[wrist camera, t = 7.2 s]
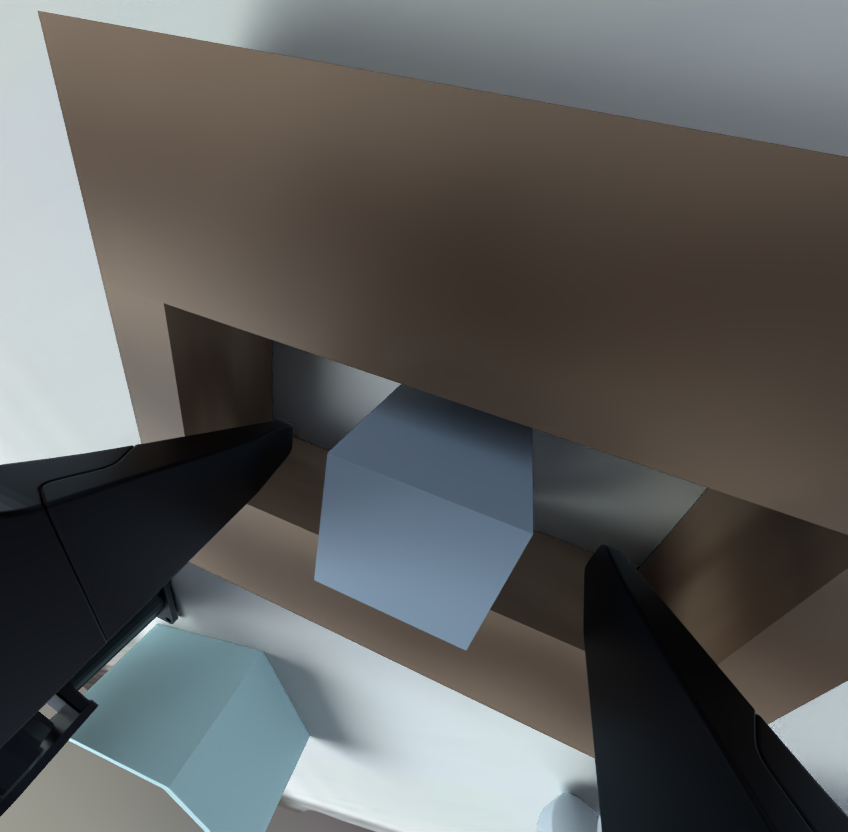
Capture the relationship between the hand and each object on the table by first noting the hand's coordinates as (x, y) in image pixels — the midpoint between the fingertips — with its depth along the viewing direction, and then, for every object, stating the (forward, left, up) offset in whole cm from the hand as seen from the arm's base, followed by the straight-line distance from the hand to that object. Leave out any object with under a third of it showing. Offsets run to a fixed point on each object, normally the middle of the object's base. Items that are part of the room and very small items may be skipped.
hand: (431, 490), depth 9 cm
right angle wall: (-32, +12, -4) cm, 34 cm away
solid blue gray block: (0, 0, -4) cm, 4 cm away
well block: (0, 0, -4) cm, 4 cm away
